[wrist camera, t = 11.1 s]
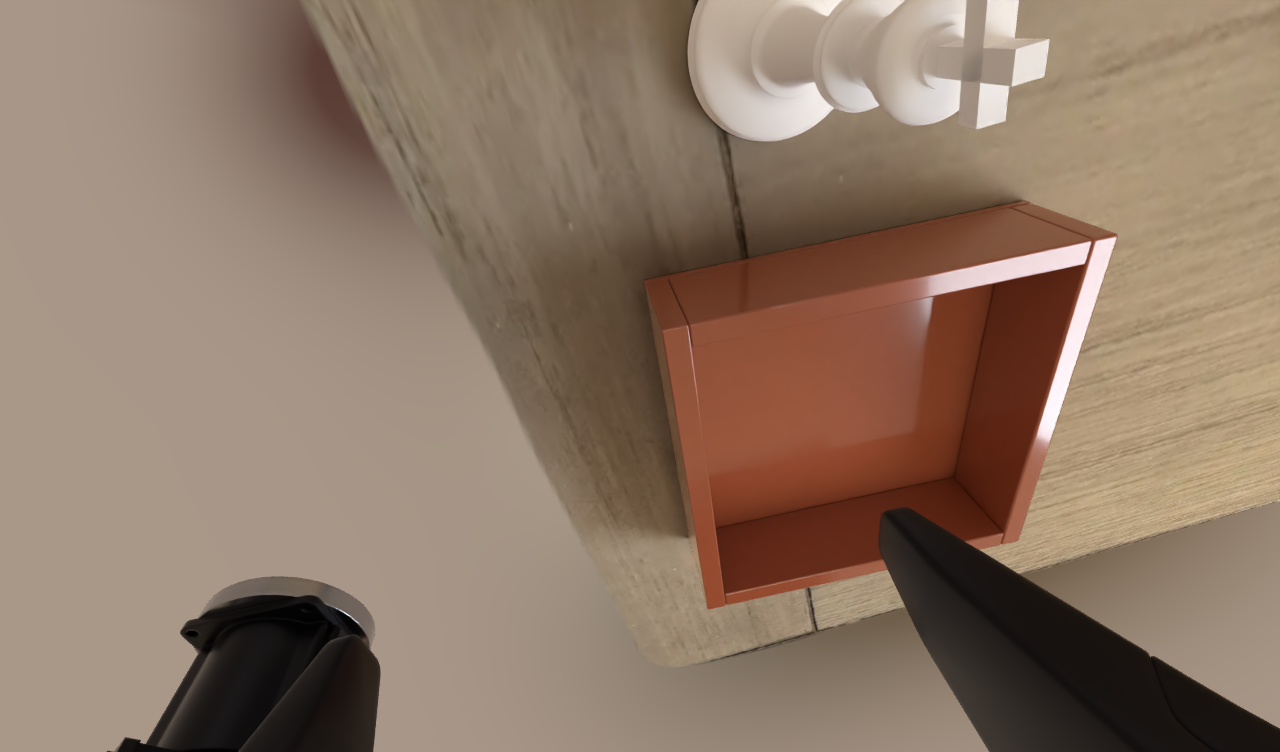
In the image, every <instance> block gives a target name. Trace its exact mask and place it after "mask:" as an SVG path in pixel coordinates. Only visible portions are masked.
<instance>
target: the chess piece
mask: <svg viewBox="0 0 1280 752" xmlns="http://www.w3.org/2000/svg"><path fill="white" fill-rule="evenodd" d="M1018 4H1019V0H699V1H698V3H697V6H696V8H695V11H694V14H693V17H692V21H691V25H690V30H689V37H688V67H689V74H690V78H691V82H692V86H693V89H694V92H695V94H696V96H697V98H698V101H699V102H700V104H701V106H702V108H703V109H704V111H705V112H706V113H707V115H708V116H709V117H710V118H711V119H712V120H713V121H714V122H715V123H716V124H717V125H718V126H719V127H721V128H722V129H723V130H725V131H727V132H728V133H730V134H732V135H734V136H737V137H739V138H742V139H746V140H751V141H779V140H784V139H788V138H791V137H794V136H796V135H799V134H801V133H803V132H805V131H807V130H808V129H810V128H812V127H813V126H815V125H816V124H817V123H819V122H820V121H821V120H822V119H823V118H825V117H826V116H827V115H828V114H829V113H830V112H831V111H832V110H833V108H836V109H838V110H840V111H843V112H849V113H858V112H864V111H867V110H870V109H873V108H875V107H877V106H880V107H881V108H882V109H883V110H884V111H885V112H886V113H887V114H888V115H889V116H891V117H892V118H893V119H895V120H897V121H899V122H901V123H904V124H908V125H916V126H919V125H928V124H933V123H936V122H939V121H941V120H943V119H945V118H947V117H949V116H951V115H952V114H954V113H955V112H957V111H958V110H959V119H958V125H959V126H963V127H967V128H972V129H976V130H977V129H980V128H983V127H987V126H990V125H993V124H997V123H1000V122H1003V121H1005V119H1006V110H1007V101H1008V92H1009V86H1011V87H1012V86H1015V85H1019V84H1022V83H1025V82H1029V81H1032V80H1035V79H1039V78H1042V77H1044V75H1045V68H1046V61H1047V54H1048V47H1049V40H1050V39H1015V30H1016V21H1017V13H1018Z"/></svg>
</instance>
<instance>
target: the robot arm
mask: <svg viewBox="0 0 1280 752" xmlns="http://www.w3.org/2000/svg"><path fill="white" fill-rule="evenodd" d="M878 546H879V551H880V554H881V556H882V559H883V561H884V563H885V565H886V567H887V569H888V571H889V573H890V575H891V577H892V580H893V582H894V584H895V586H896V588H897V590H898V592H899V594H900V596H901V598H902V600H903V603H904V605H905V607H906V609H907V611H908V613H909V615H910V617H911V619H912V621H913V623H914V626H915V628H916V630H917V632H918V633H919V635H920V638H921V639H922V641H923V643H924V645H925V647H926V648H927V650H928V652H929V653H930V655H931V657H932V658H933V660H934V662H935V663H936V665H937V667H938V668H939V670H940V672H941V673H942V675H943V677H944V678H945V680H946V681H947V683H948V685H949V687H950V688H951V690H952V691H953V693H954V695H955V696H956V698H957V699H958V701H959V703H960V705H961V706H962V708H963V709H964V711H965V713H966V714H967V716H968V718H969V719H970V721H971V723H972V724H973V726H974V727H975V729H976V731H977V732H978V734H979V736H980V737H981V739H982V741H983V742H984V744H985V746H986V747H987V749H988V750H989V752H1280V728H1278V727H1276V726H1274V725H1272V724H1270V723H1269V722H1267V721H1265V720H1263V719H1261V718H1260V717H1258V716H1256V715H1254V714H1252V713H1250V712H1249V711H1247V710H1245V709H1243V708H1241V707H1239V706H1237V705H1236V704H1234V703H1233V702H1231V701H1229V700H1227V699H1226V698H1224V697H1222V696H1221V695H1219V694H1217V693H1216V692H1214V691H1212V690H1210V689H1209V688H1207V687H1205V686H1204V685H1202V684H1200V683H1198V682H1197V681H1195V680H1193V679H1192V678H1190V677H1188V676H1187V675H1185V674H1183V673H1182V672H1180V671H1178V670H1177V669H1175V668H1173V667H1172V666H1170V665H1168V664H1167V663H1165V662H1163V661H1162V660H1160V659H1158V658H1157V657H1155V656H1151V657H1150V656H1149V654H1148V652H1146V651H1145V650H1143V649H1142V648H1140V647H1138V646H1137V645H1135V644H1133V643H1132V642H1130V641H1128V640H1127V639H1125V638H1123V637H1122V636H1120V635H1118V634H1117V633H1115V632H1113V631H1112V630H1110V629H1109V628H1107V627H1105V626H1103V625H1102V624H1100V623H1099V622H1097V621H1095V620H1094V619H1092V618H1091V617H1089V616H1087V615H1086V614H1084V613H1082V612H1081V611H1079V610H1077V609H1076V608H1074V607H1072V606H1071V605H1069V604H1067V603H1066V602H1064V601H1063V600H1061V599H1059V598H1057V597H1056V596H1054V595H1053V594H1051V593H1049V592H1048V591H1046V590H1044V589H1043V588H1041V587H1039V586H1038V585H1036V584H1034V583H1033V582H1031V581H1030V580H1028V579H1026V578H1025V577H1023V576H1021V575H1020V574H1018V573H1016V572H1015V571H1013V570H1011V569H1010V568H1008V567H1006V566H1005V565H1003V564H1002V563H1000V562H998V561H997V560H995V559H993V558H992V557H990V556H988V555H987V554H985V553H983V552H982V551H980V550H978V549H977V548H975V547H973V546H972V545H970V544H969V543H967V542H965V541H964V540H962V539H960V538H959V537H957V536H955V535H954V534H952V533H950V532H949V531H947V530H945V529H944V528H942V527H941V526H939V525H937V524H936V523H934V522H932V521H931V520H929V519H927V518H926V517H924V516H922V515H921V514H919V513H917V512H916V511H914V510H913V509H911V508H908V507H898V508H894V509H889V510H885V511H884V512H883V513H882V514H881V518H880V528H879V538H878ZM180 634H181V635H182V636H183V637H184V638H185V639H186V640H187V641H188V642H189V643H190V644H192V645H193V646H194V647H195V648H196V649H197V650H198V651H199V653H198V655H197V657H196V659H195V660H194V662H193V664H192V666H191V667H190V669H189V671H188V672H187V674H186V676H185V677H184V679H183V681H182V683H181V684H180V686H179V688H178V689H177V691H176V693H175V695H174V696H173V698H172V700H171V701H170V703H169V705H168V707H167V708H166V710H165V712H164V713H163V715H162V717H161V719H160V720H159V722H158V724H157V726H156V727H155V729H154V731H153V732H152V734H151V736H150V737H149V739H148V741H147V743H146V744H142V743H140V741H141V740H137V739H132V738H127V737H125V738H124V740H123V741H122V742H121V743H120V745H119V746H118V747H117V749H116V750H115V751H114V752H373V748H374V738H375V727H376V717H377V716H376V715H377V706H378V696H379V685H380V665H379V662H378V660H377V658H376V657H375V656H374V654H373V653H372V652H371V650H370V649H369V648H368V647H367V645H366V644H365V643H364V641H363V640H362V639H361V638H360V637H359V636H357V635H350V634H349V633H348V632H347V631H346V630H345V628H344V627H343V626H342V625H341V623H340V622H339V621H338V620H337V618H336V617H335V616H334V615H333V614H332V612H331V611H330V610H329V609H328V607H327V606H326V605H325V604H324V602H323V601H322V600H321V599H320V598H319V597H317V596H314V595H304V596H300V597H295V598H290V599H286V600H281V601H276V602H272V603H267V604H263V605H258V606H253V607H249V608H244V609H240V610H235V611H230V612H226V613H221V614H216V615H212V616H207V617H203V618H198V619H194V620H190V621H187V622H186V623H185V625H184V627H183V628H182V630H181V632H180ZM107 752H111V751H107Z"/></svg>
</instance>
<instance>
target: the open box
mask: <svg viewBox="0 0 1280 752" xmlns="http://www.w3.org/2000/svg"><path fill="white" fill-rule="evenodd" d="M1117 237H1118V235H1117V234H1116V233H1113V232H1110V231H1107V230H1104V229H1102V228H1099V227H1096V226H1093V225H1090V224H1088V223H1085V222H1082V221H1079V220H1076V219H1074V218H1071V217H1068V216H1065V215H1062V214H1060V213H1057V212H1054V211H1051V210H1048V209H1045V208H1043V207H1040V206H1037V205H1034V204H1031V202H1028V201H1020V202H1016V203H1011V204H1006V205H1001V206H997V207H992V208H987V209H982V210H977V211H973V212H968V213H963V214H958V215H953V216H949V217H944V218H939V219H934V220H930V221H925V222H920V223H915V224H910V225H906V226H901V227H896V228H891V229H886V230H882V231H877V232H872V233H867V234H863V235H858V236H853V237H848V238H843V239H839V240H834V241H829V242H824V243H819V244H815V245H810V246H805V247H800V248H796V249H791V250H786V251H781V252H776V253H772V254H767V255H762V256H757V257H752V258H748V259H743V260H738V261H733V262H729V263H724V264H719V265H714V266H709V267H705V268H700V269H695V270H690V271H686V272H681V273H676V274H671V275H666V276H662V277H657V278H652V279H647V280H644V284H645V289H646V295H647V301H648V306H649V312H650V318H651V324H652V329H653V335H654V341H655V346H656V352H657V358H658V363H659V369H660V375H661V381H662V386H663V392H664V398H665V403H666V409H667V415H668V420H669V426H670V432H671V438H672V443H673V449H674V455H675V460H676V466H677V472H678V477H679V483H680V489H681V495H682V500H683V506H684V512H685V517H686V523H687V529H688V534H689V540H690V544H691V548H692V552H693V555H694V559H695V563H696V567H697V571H698V575H699V579H700V582H701V586H702V590H703V594H704V598H705V602H706V605H707V609H713V608H718V607H722V606H725V605H730V604H734V603H739V602H744V601H748V600H753V599H757V598H762V597H766V596H771V595H775V594H780V593H784V592H789V591H794V590H798V589H803V588H807V587H812V586H816V585H821V584H825V583H830V582H835V581H839V580H844V579H848V578H853V577H857V576H862V575H866V574H871V573H875V572H880V571H885V570H888V569H887V567H886V565H885V563H884V561H883V559H882V556H881V554H880V551H879V546H878V538H879V528H880V518H881V514H882V513H883V512H884V511H885V510H889V509H894V508H898V507H908V508H911V509H913V510H914V511H916V512H917V513H919V514H921V515H922V516H924V517H926V518H927V519H929V520H931V521H932V522H934V523H936V524H937V525H939V526H941V527H942V528H944V529H945V530H947V531H949V532H950V533H952V534H954V535H955V536H957V537H959V538H960V539H962V540H964V541H965V542H967V543H969V544H970V545H972V546H973V547H975V548H977V549H978V550H980V549H985V548H989V547H994V546H998V545H1000V544H1007V543H1011V542H1016V541H1018V540H1019V537H1020V534H1021V530H1022V527H1023V524H1024V521H1025V518H1026V515H1027V512H1028V509H1029V506H1030V503H1031V500H1032V497H1033V494H1034V491H1035V488H1036V485H1037V482H1038V479H1039V475H1040V472H1041V469H1042V466H1043V463H1044V460H1045V457H1046V454H1047V451H1048V448H1049V445H1050V442H1051V439H1052V436H1053V433H1054V430H1055V427H1056V424H1057V421H1058V417H1059V414H1060V411H1061V408H1062V405H1063V402H1064V399H1065V396H1066V393H1067V390H1068V387H1069V384H1070V381H1071V378H1072V375H1073V372H1074V369H1075V366H1076V362H1077V359H1078V356H1079V353H1080V350H1081V347H1082V344H1083V341H1084V338H1085V335H1086V332H1087V329H1088V326H1089V323H1090V320H1091V317H1092V314H1093V311H1094V308H1095V304H1096V301H1097V298H1098V295H1099V292H1100V289H1101V286H1102V283H1103V280H1104V277H1105V274H1106V271H1107V268H1108V265H1109V262H1110V259H1111V256H1112V253H1113V249H1114V246H1115V243H1116V240H1117Z"/></svg>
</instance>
